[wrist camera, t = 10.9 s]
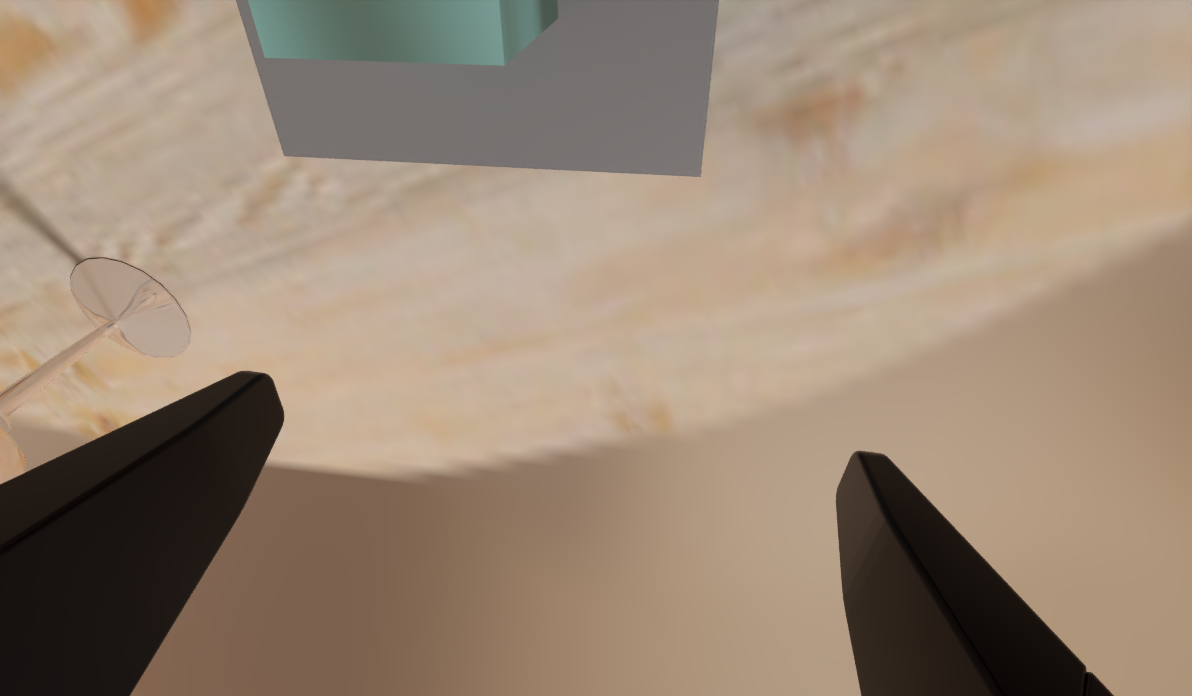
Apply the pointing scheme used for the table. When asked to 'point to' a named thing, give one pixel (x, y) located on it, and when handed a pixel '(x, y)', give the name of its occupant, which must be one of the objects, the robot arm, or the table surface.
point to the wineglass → (100, 336)
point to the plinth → (516, 97)
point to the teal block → (401, 29)
